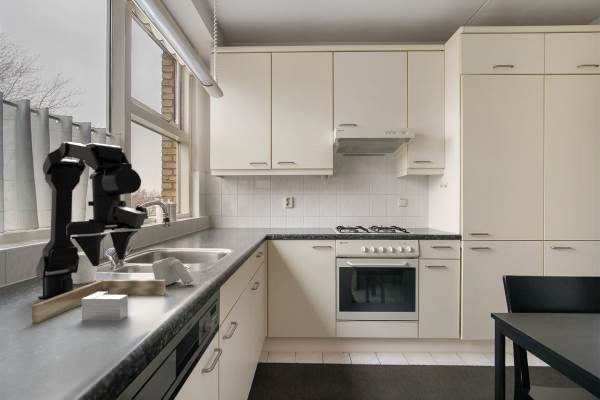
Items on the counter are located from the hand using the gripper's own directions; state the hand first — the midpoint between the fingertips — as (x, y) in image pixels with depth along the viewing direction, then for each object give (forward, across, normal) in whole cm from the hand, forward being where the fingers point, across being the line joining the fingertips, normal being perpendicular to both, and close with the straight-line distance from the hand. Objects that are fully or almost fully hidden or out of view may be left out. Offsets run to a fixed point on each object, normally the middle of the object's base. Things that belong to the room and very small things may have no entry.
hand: (109, 262), depth 73 cm
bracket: (+13, +1, +1) cm, 13 cm away
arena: (+12, +9, +6) cm, 17 cm away
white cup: (+11, +33, +31) cm, 47 cm away
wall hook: (+12, +29, -3) cm, 32 cm away
